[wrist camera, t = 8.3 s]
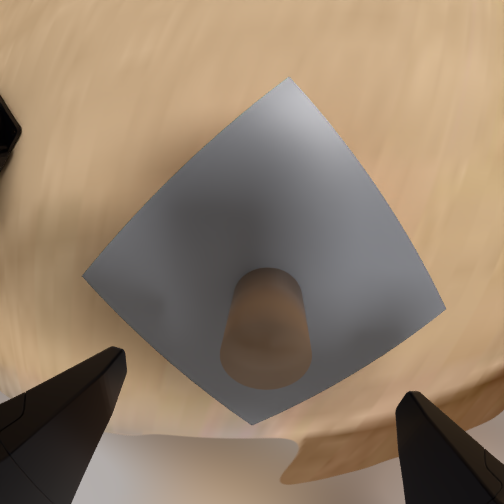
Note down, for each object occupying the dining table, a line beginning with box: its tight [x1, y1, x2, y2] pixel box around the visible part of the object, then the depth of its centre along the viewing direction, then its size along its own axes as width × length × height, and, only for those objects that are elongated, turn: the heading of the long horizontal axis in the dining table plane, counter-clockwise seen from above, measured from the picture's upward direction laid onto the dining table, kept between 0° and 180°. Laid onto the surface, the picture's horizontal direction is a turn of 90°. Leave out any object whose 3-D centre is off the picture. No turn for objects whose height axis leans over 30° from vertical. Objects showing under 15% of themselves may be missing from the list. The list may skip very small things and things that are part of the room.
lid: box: [82, 77, 446, 425], centre depth 12 cm, size 13×13×5 cm
